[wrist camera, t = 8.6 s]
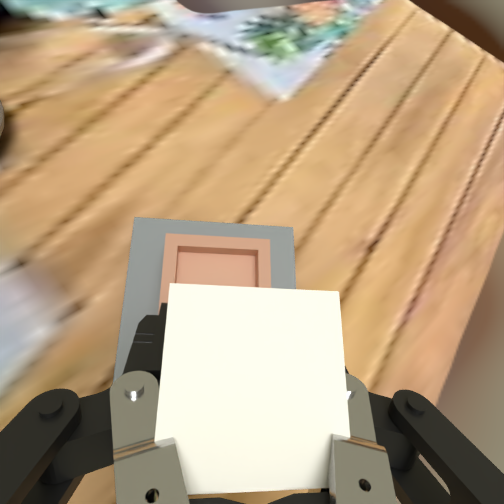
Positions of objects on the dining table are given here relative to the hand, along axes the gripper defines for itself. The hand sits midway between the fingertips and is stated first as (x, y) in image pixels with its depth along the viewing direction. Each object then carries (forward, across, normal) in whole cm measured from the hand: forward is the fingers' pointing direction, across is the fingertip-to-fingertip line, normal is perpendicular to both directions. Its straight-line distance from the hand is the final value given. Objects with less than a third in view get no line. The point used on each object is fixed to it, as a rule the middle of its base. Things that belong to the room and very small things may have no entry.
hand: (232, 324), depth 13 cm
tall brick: (+2, 0, +4) cm, 5 cm away
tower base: (+16, 0, +10) cm, 18 cm away
